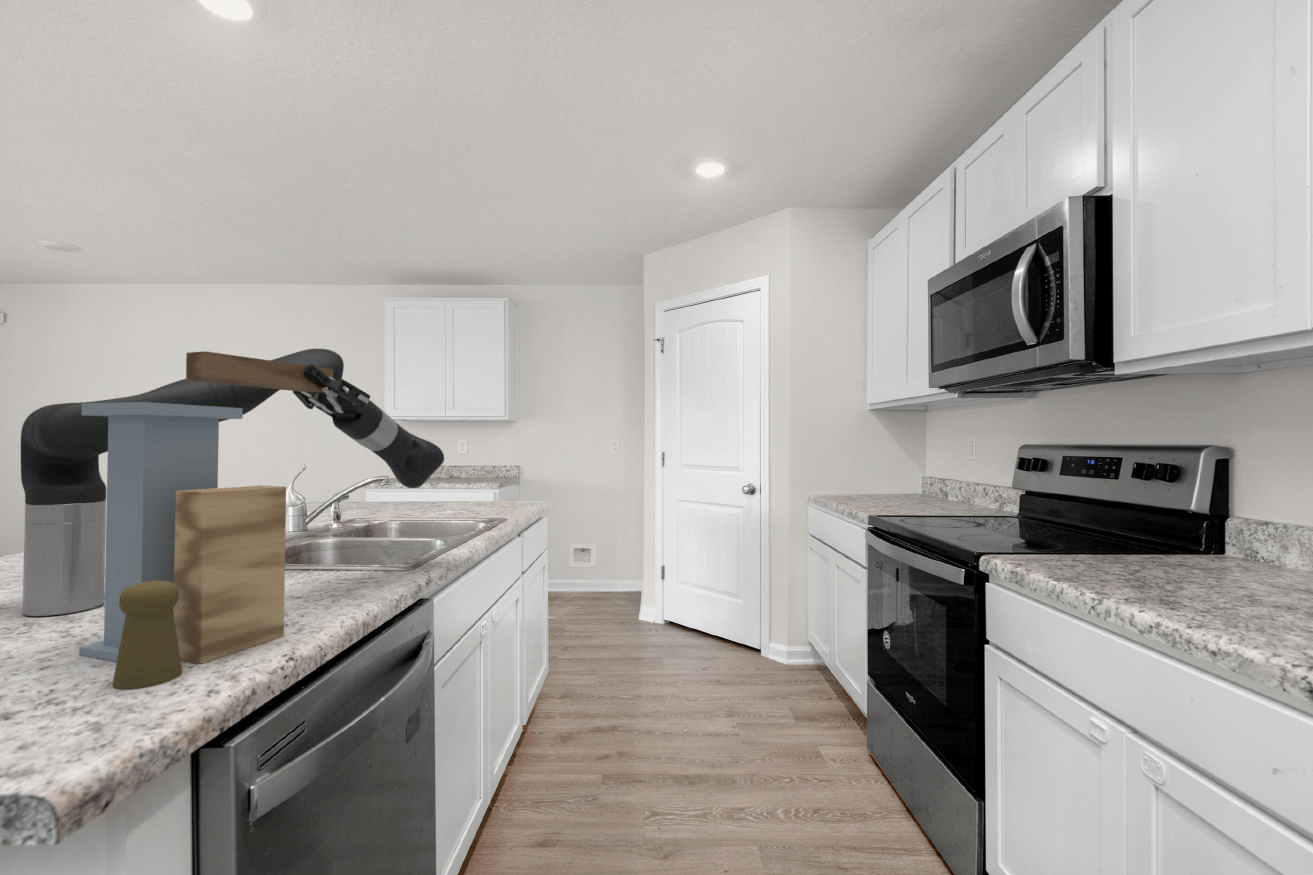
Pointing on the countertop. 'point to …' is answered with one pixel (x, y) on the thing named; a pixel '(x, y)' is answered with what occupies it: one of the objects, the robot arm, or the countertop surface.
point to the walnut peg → (249, 372)
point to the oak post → (229, 569)
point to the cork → (148, 636)
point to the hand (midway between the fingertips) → (296, 369)
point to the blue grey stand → (149, 493)
